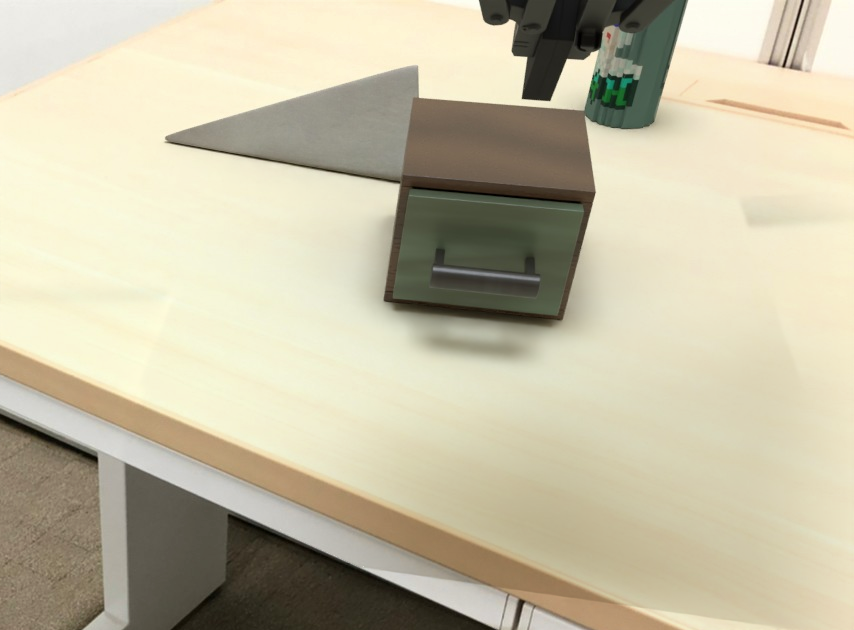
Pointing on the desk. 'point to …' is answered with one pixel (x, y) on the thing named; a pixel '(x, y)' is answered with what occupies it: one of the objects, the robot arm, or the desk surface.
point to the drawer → (486, 250)
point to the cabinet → (495, 164)
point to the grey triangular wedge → (324, 127)
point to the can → (633, 71)
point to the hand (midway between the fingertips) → (539, 75)
